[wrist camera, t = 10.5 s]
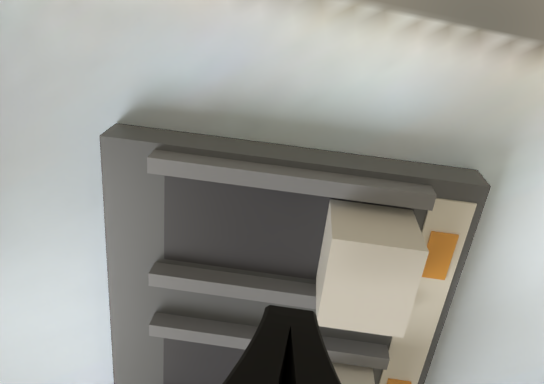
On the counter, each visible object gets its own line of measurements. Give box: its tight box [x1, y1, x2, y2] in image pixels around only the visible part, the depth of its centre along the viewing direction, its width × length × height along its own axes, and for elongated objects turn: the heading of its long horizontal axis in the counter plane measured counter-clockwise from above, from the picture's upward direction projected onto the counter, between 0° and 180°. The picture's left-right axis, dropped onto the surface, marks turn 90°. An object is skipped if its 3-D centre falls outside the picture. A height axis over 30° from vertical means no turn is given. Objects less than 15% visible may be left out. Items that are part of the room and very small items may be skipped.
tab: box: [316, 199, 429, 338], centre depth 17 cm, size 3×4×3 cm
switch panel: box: [100, 123, 491, 384], centre depth 22 cm, size 14×21×2 cm, turn 174°
